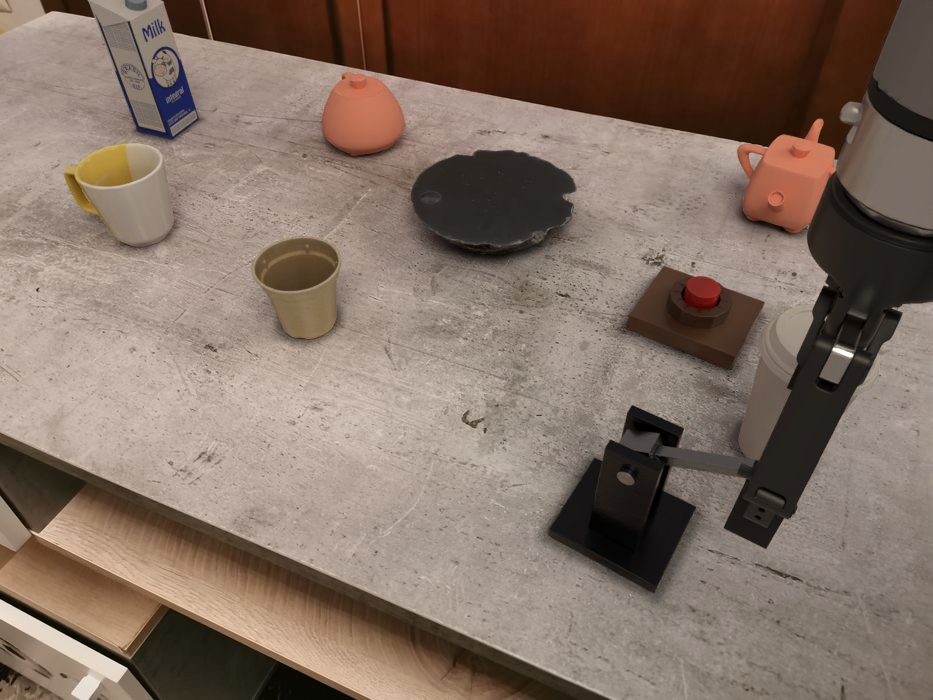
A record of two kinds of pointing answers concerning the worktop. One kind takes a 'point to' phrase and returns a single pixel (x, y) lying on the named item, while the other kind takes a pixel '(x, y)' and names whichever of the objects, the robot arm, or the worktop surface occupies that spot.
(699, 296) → the button
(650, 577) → the lever bracket
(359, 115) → the sugar bowl
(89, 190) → the mug
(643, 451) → the press lever
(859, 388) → the coffee cup
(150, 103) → the milk carton
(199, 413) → the worktop surface
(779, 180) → the teapot
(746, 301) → the button block
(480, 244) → the board
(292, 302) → the flower pot
